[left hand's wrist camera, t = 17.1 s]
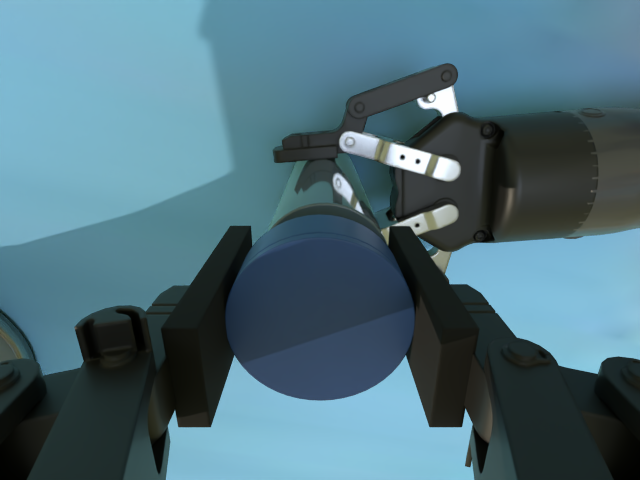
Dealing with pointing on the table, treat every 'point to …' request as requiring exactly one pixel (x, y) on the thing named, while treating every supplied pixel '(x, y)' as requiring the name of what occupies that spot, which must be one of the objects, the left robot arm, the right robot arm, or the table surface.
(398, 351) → the lid
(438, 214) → the right robot arm
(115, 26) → the table surface
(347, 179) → the bottle
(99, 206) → the table surface
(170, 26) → the table surface
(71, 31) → the table surface
